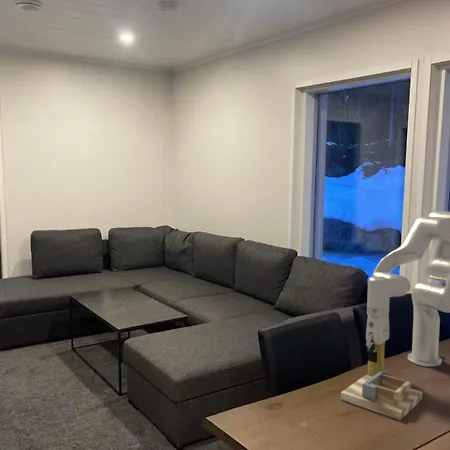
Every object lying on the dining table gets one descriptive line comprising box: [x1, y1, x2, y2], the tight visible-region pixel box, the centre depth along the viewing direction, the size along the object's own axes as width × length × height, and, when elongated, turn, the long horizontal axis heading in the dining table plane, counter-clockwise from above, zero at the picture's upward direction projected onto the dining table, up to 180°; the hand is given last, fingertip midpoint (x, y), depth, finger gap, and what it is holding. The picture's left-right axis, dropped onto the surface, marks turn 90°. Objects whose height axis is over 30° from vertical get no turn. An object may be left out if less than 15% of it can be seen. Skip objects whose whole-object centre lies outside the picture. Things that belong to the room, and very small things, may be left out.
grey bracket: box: [362, 370, 394, 400], centre depth 161 cm, size 14×4×4 cm, turn 138°
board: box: [340, 374, 423, 421], centre depth 160 cm, size 18×20×6 cm
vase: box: [366, 341, 385, 377], centre depth 176 cm, size 6×6×14 cm
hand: (376, 358), depth 177 cm, fingers closed on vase, 5 cm apart
